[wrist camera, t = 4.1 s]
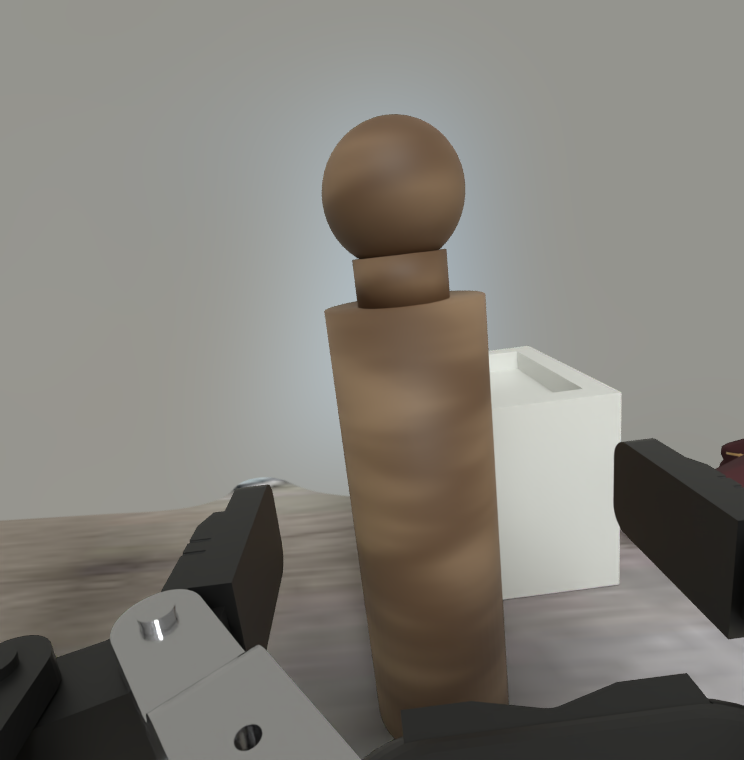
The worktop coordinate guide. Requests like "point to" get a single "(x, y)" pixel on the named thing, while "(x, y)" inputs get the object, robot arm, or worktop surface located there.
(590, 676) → the worktop surface
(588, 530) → the plinth
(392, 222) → the pepper mill
